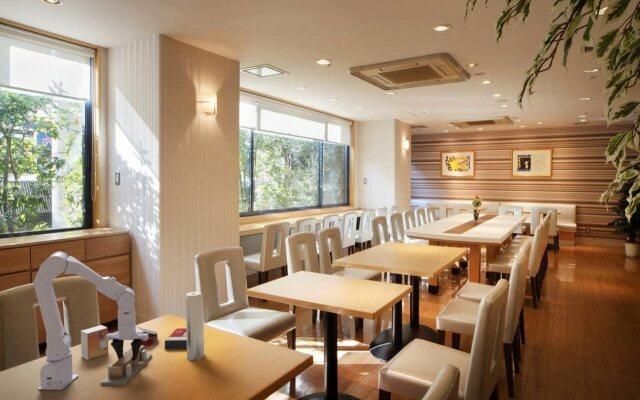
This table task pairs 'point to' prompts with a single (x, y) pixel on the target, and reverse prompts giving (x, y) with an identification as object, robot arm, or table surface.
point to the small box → (94, 342)
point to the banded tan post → (124, 364)
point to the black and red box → (177, 339)
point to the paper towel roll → (194, 326)
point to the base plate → (127, 371)
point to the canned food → (149, 337)
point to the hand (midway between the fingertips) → (128, 359)
